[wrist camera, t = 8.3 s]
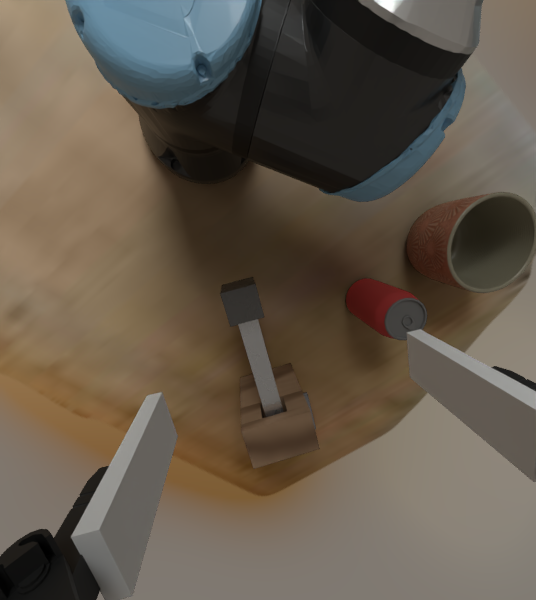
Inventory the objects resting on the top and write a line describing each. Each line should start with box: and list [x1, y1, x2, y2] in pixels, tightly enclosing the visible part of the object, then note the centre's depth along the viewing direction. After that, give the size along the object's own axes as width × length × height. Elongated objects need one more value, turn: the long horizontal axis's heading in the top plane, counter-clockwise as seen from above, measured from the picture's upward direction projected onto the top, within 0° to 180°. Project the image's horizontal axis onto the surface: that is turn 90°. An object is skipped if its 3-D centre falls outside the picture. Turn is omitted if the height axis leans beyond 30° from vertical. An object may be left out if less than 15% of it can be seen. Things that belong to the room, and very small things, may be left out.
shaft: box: [220, 277, 284, 417], centre depth 36 cm, size 23×4×5 cm, turn 15°
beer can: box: [346, 278, 427, 340], centre depth 40 cm, size 7×7×12 cm
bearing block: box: [240, 363, 320, 469], centre depth 41 cm, size 6×9×13 cm, turn 105°
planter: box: [407, 192, 536, 293], centre depth 39 cm, size 12×12×11 cm
